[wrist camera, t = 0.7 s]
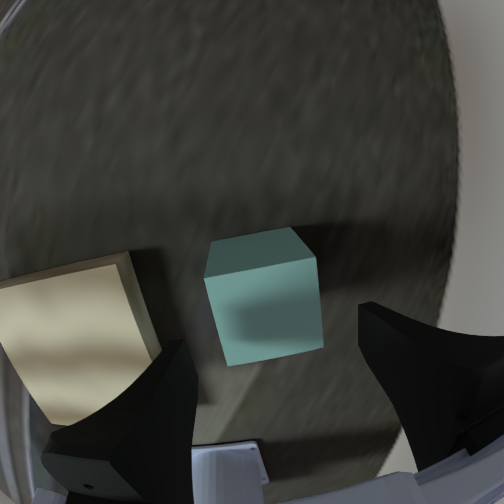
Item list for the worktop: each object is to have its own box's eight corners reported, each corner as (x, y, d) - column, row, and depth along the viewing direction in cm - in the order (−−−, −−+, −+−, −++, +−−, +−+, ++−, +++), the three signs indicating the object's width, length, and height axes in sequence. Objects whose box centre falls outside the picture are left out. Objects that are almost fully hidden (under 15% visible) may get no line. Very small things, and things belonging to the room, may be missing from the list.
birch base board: (186, 405, 23) (183, 426, 20) (60, 407, 23) (51, 423, 20) (128, 251, 19) (115, 264, 16) (-5, 282, 18) (-22, 293, 16)
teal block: (299, 297, 20) (323, 347, 15) (227, 311, 20) (227, 366, 15) (290, 226, 19) (315, 256, 13) (211, 241, 19) (203, 278, 13)
